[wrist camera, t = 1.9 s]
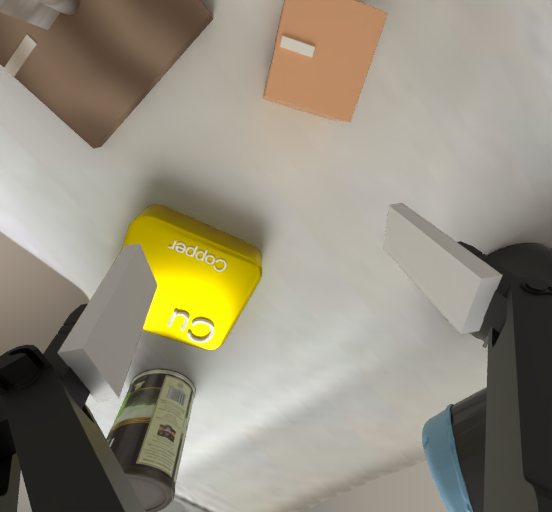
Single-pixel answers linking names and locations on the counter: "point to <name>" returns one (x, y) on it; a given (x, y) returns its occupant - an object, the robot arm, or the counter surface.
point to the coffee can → (153, 434)
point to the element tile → (194, 276)
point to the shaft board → (95, 54)
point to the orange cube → (323, 55)
